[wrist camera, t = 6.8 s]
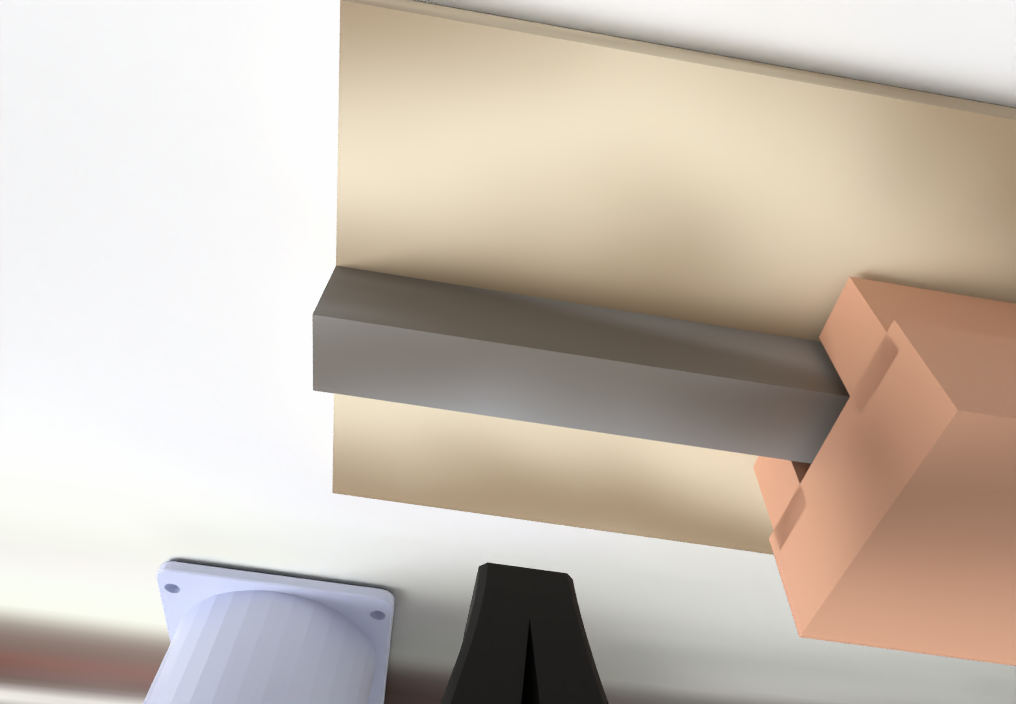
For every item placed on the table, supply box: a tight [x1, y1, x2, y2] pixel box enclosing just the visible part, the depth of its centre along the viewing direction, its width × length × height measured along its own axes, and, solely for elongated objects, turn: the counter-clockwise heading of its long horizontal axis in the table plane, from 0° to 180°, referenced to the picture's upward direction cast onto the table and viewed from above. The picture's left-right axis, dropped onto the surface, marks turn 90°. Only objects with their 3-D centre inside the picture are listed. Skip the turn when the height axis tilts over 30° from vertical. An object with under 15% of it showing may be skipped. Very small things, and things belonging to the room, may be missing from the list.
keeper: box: [753, 277, 1016, 666], centre depth 15 cm, size 6×5×5 cm
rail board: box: [313, 0, 1016, 555], centre depth 16 cm, size 13×18×4 cm
